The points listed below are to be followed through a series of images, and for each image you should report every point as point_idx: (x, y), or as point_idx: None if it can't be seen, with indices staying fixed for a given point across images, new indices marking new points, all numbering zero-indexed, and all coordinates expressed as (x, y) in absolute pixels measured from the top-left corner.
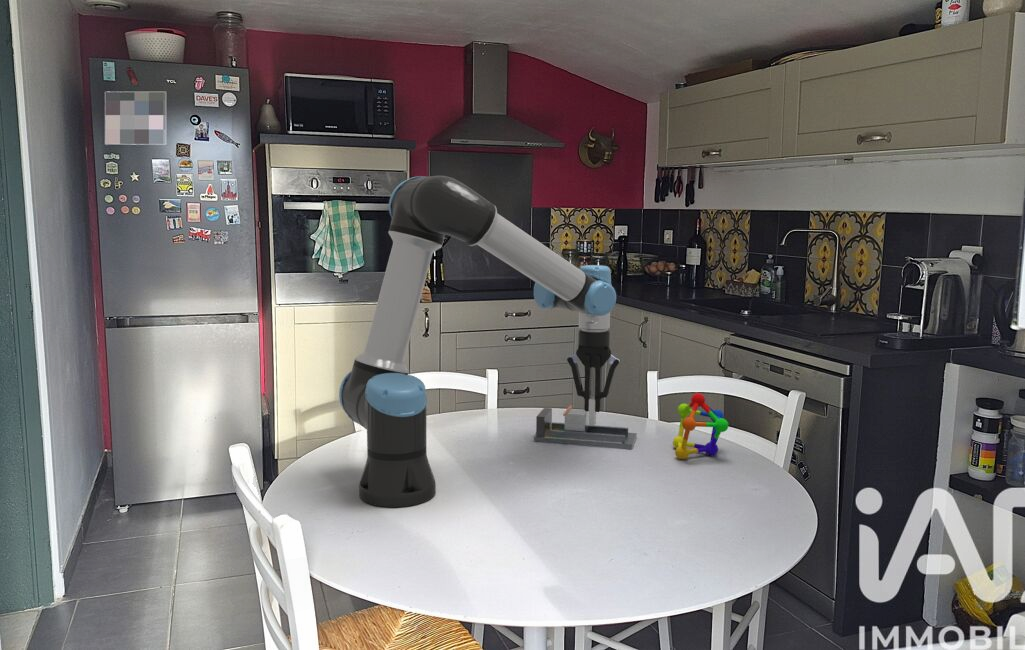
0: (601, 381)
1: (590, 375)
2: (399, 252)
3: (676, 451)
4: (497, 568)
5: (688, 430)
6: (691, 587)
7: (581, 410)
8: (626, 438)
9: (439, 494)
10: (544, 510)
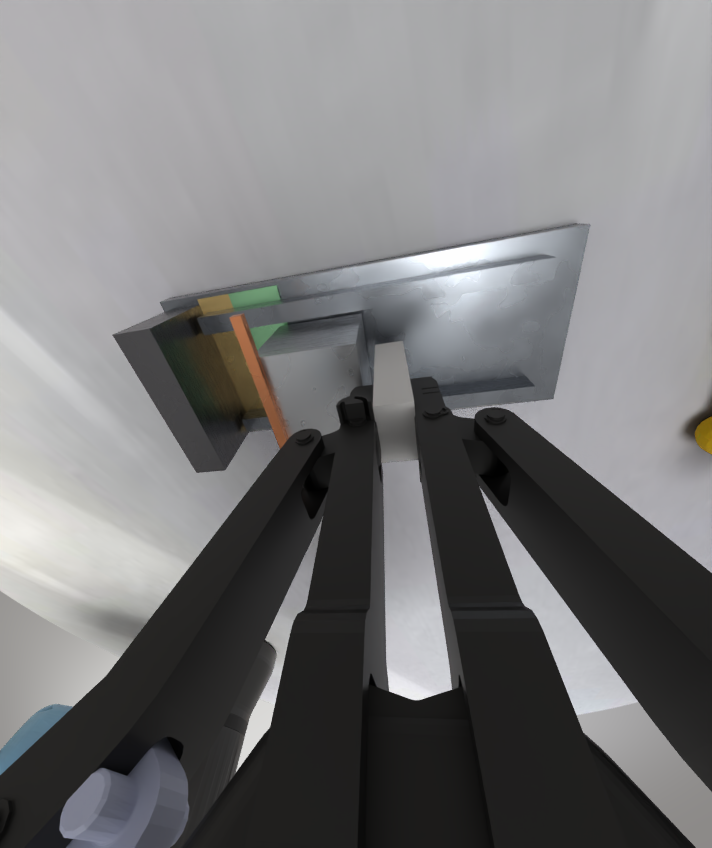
0: (479, 488)
1: (377, 579)
2: None
3: (707, 450)
4: None
5: None
6: (577, 707)
7: (325, 368)
8: (532, 335)
9: (273, 642)
10: (414, 650)
